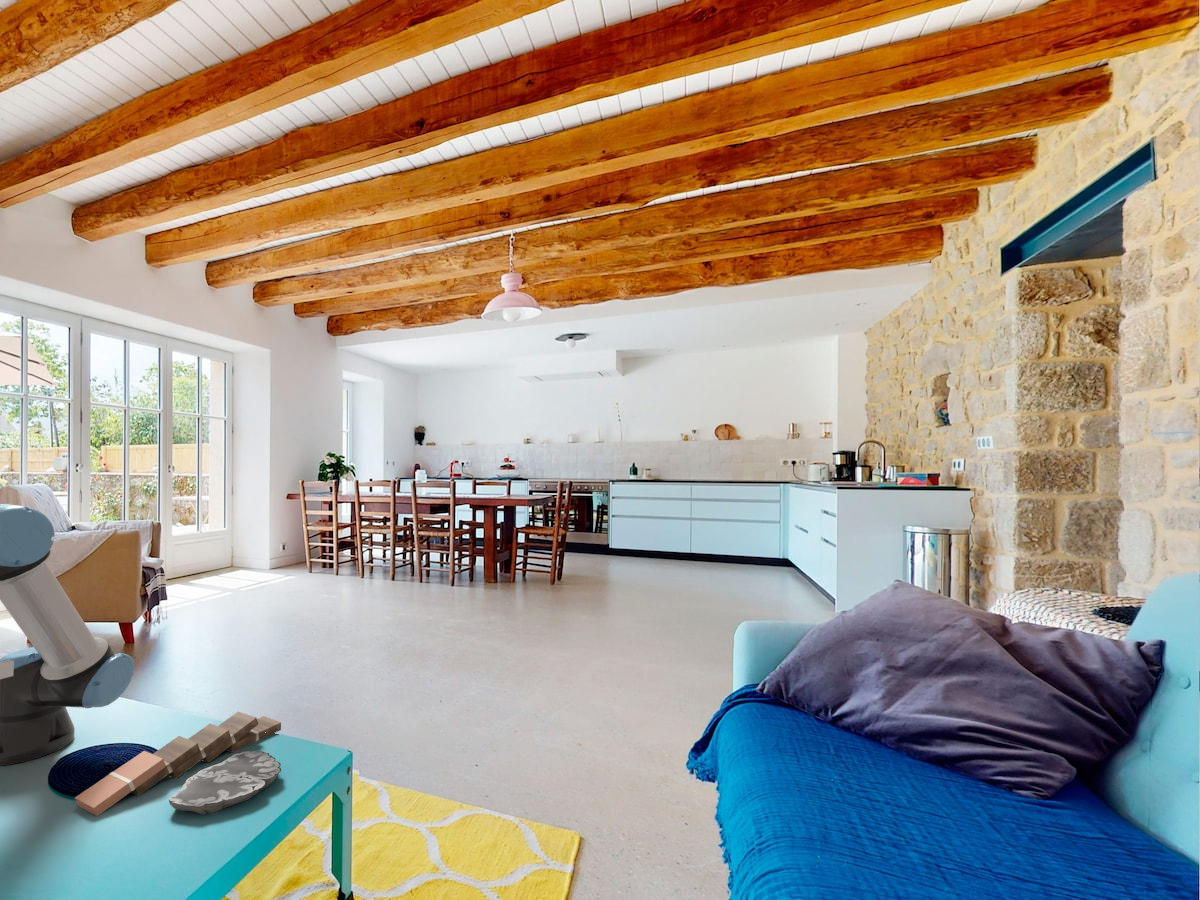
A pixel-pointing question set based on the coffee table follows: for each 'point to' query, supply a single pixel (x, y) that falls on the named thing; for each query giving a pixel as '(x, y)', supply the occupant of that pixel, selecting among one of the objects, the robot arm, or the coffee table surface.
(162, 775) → the domino
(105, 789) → the domino
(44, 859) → the coffee table surface
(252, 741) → the domino
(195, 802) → the brain slice
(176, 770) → the domino
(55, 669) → the robot arm
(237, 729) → the domino
